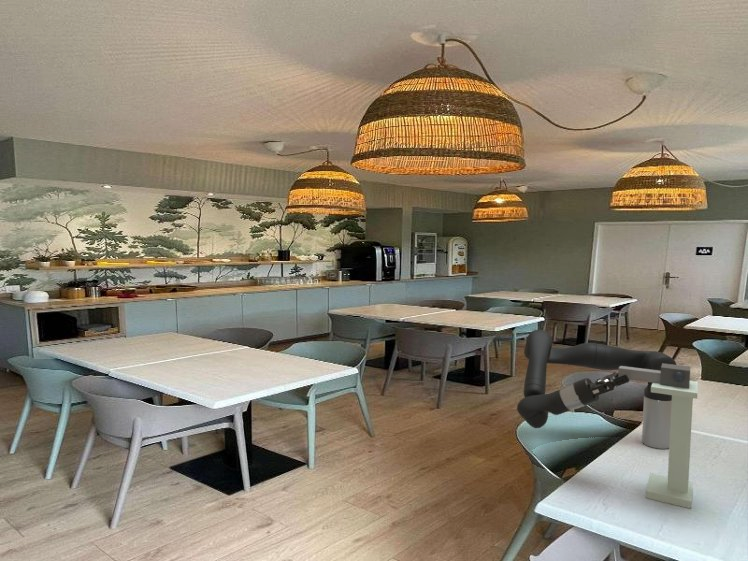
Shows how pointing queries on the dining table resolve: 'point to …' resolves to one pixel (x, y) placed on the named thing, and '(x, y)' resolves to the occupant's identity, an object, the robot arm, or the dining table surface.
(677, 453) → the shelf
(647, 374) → the grey block with bar
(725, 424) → the dining table surface
